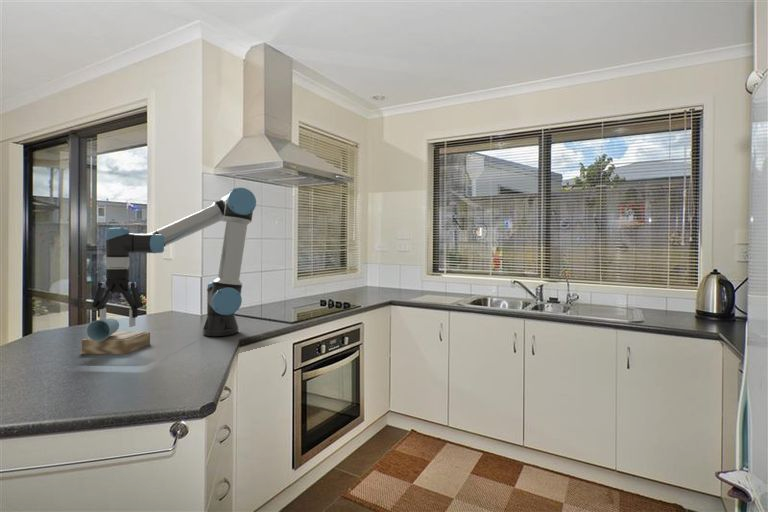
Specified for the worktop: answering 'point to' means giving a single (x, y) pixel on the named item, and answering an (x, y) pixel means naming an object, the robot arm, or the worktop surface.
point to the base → (117, 343)
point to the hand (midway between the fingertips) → (117, 326)
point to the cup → (102, 329)
